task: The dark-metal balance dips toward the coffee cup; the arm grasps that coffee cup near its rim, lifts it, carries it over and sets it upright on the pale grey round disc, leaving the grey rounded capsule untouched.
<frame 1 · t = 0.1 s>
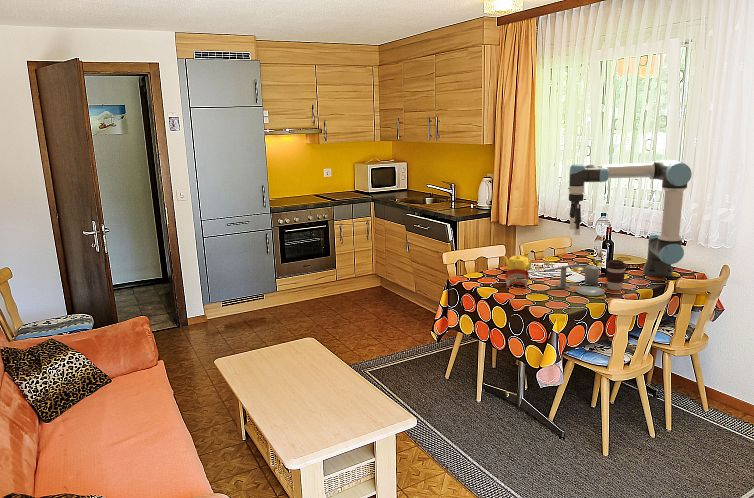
hand: (574, 231, 305), 28 cm above the table, fingers open, 13 cm apart
pale grey round disc: (590, 292, 291), on the table
balance: (563, 286, 303), on the table
teapot: (518, 271, 334), on the table
coffee cup: (614, 288, 296), on the table
grey rounded capsule: (591, 283, 306), on the table
toy: (517, 285, 308), on the table
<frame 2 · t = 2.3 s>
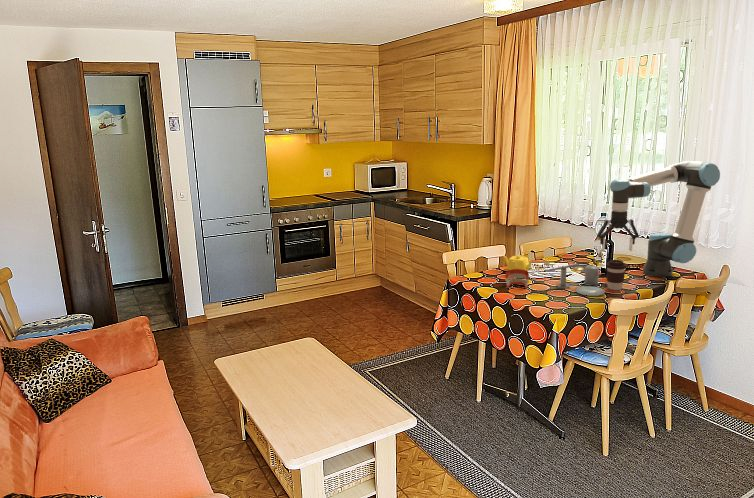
hand: (616, 250, 291), 21 cm above the table, fingers open, 13 cm apart
nothing on the table moved.
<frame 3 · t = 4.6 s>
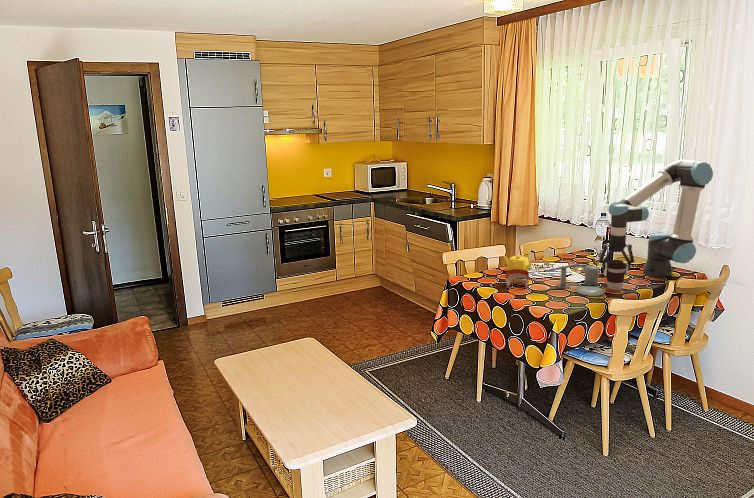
hand: (615, 275, 294), 7 cm above the table, fingers closed on coffee cup, 10 cm apart
coffee cup: (614, 288, 296), on the table, touching gripper
everything else where it was.
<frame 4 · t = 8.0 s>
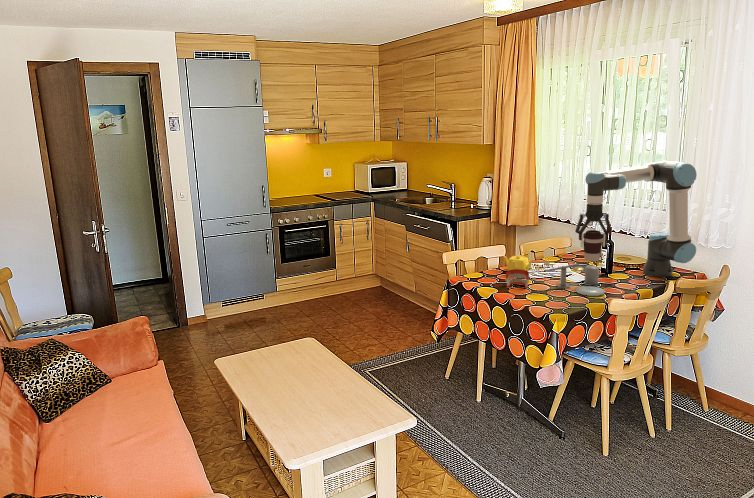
hand: (592, 246, 285), 25 cm above the table, fingers closed on coffee cup, 10 cm apart
coffee cup: (591, 260, 287), point 18 cm above the table, touching gripper
everything else where it was.
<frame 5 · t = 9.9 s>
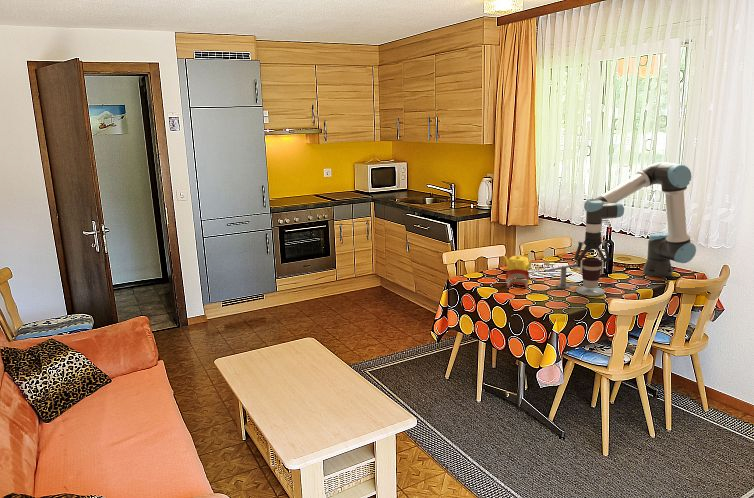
hand: (591, 273, 289), 11 cm above the table, fingers closed on coffee cup, 10 cm apart
coffee cup: (590, 286, 290), point 3 cm above the table, touching gripper
everything else where it was.
when the fingers open (9 cm above the table, at t = 11.3 s): coffee cup stays where it is, resting on pale grey round disc.
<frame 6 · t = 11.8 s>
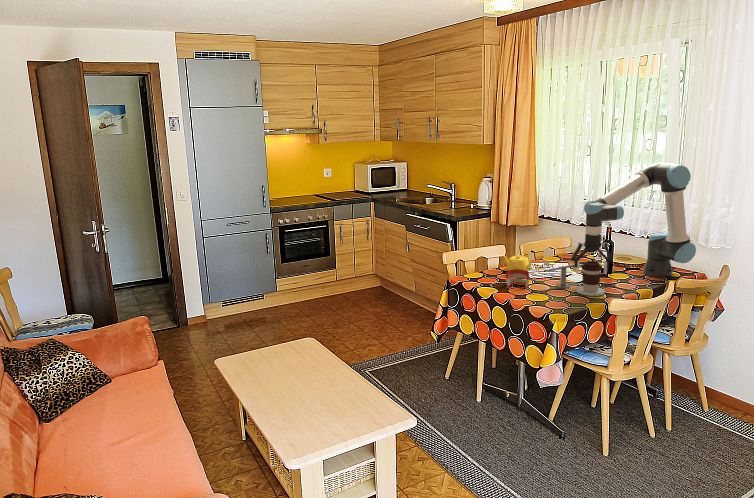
hand: (591, 273, 289), 10 cm above the table, fingers open, 13 cm apart
coffee cup: (590, 290, 291), point 1 cm above the table, touching pale grey round disc
everything else where it was.
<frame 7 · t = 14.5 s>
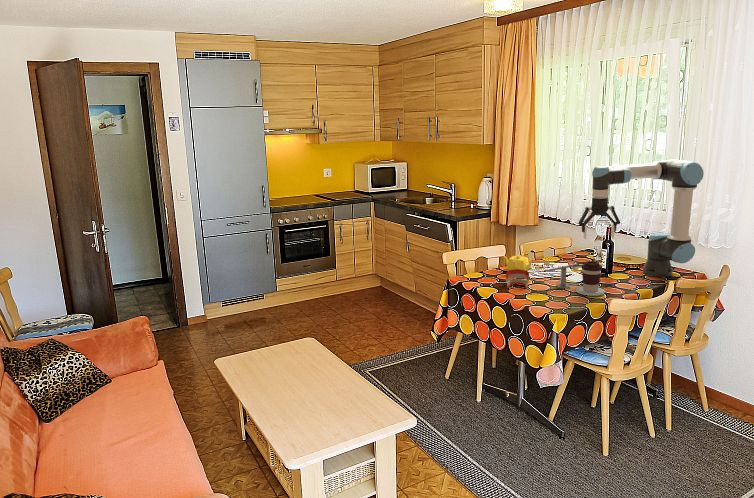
hand: (598, 237, 288), 28 cm above the table, fingers open, 13 cm apart
nothing on the table moved.
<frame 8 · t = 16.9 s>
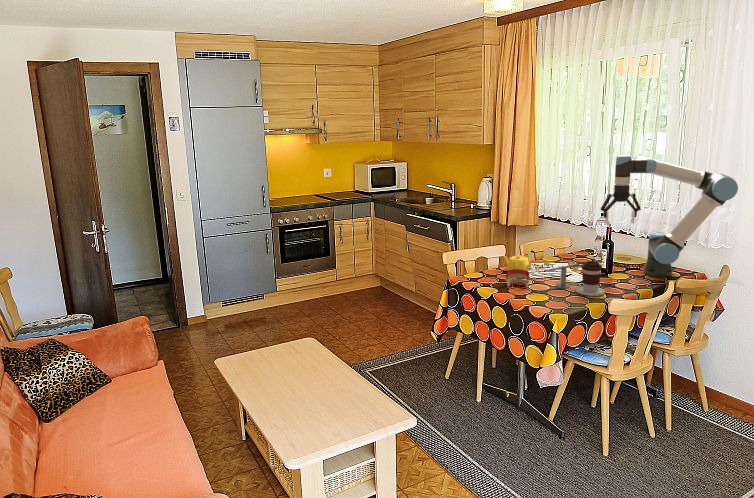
hand: (619, 223, 304), 32 cm above the table, fingers open, 13 cm apart
nothing on the table moved.
at the end: coffee cup 0.2 cm from the pale grey round disc (horizontally); coffee cup tilted 0°; coffee cup touching pale grey round disc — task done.
